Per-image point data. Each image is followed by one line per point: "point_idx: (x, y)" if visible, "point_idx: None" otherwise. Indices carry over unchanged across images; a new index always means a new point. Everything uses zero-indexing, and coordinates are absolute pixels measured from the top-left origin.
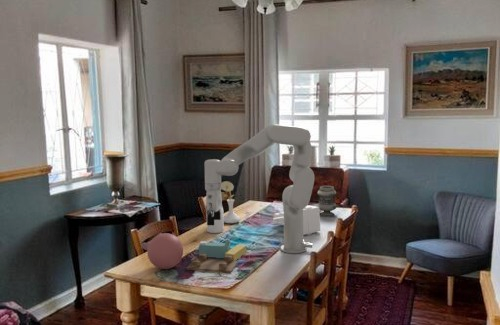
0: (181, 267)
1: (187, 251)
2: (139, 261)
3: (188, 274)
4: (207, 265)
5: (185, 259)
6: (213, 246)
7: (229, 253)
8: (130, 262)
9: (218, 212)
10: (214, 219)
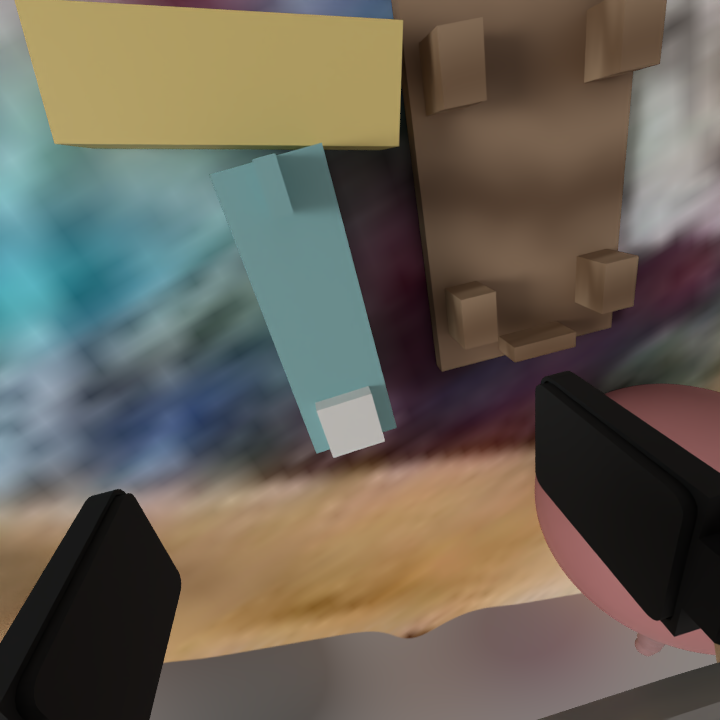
0: (568, 370)
1: (309, 497)
2: (527, 577)
3: (667, 269)
4: (556, 215)
5: (442, 427)
6: (364, 307)
7: (388, 90)
8: (546, 594)
9: (57, 702)
10: (178, 572)
